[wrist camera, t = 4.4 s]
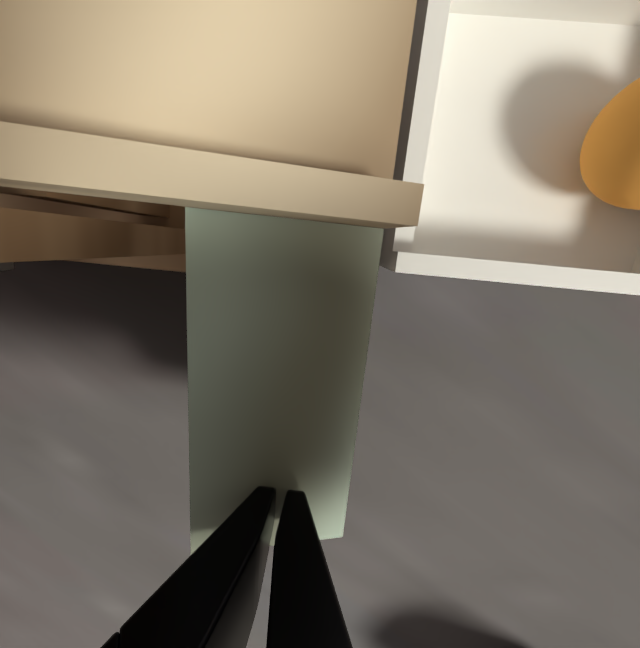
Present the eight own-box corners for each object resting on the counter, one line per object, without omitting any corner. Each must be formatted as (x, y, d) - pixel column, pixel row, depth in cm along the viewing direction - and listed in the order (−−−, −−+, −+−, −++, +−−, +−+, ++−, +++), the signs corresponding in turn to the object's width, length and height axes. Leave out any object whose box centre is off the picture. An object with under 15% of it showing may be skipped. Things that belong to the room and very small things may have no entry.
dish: (379, 265, 11) (394, 272, 8) (414, 2, 9) (452, -118, 6) (627, 288, 10) (739, 304, 7) (716, 22, 9) (909, -93, 6)
